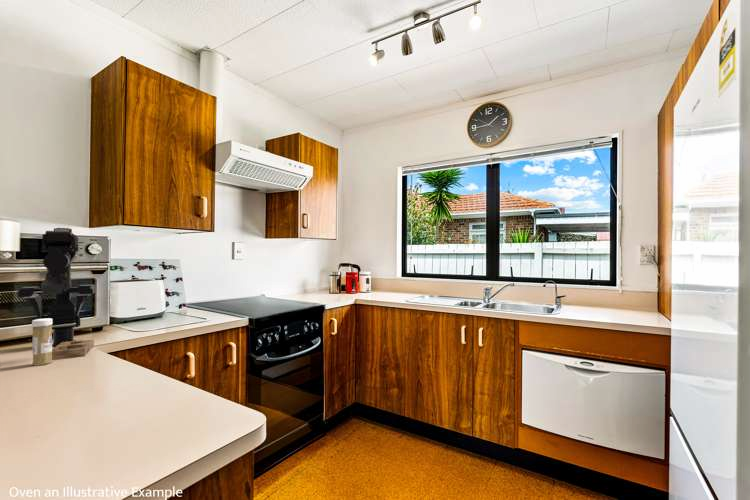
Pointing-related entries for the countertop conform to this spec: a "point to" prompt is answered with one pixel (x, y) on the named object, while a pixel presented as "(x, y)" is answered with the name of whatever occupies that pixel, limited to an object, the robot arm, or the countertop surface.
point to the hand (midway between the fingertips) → (58, 317)
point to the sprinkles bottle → (42, 341)
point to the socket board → (72, 349)
